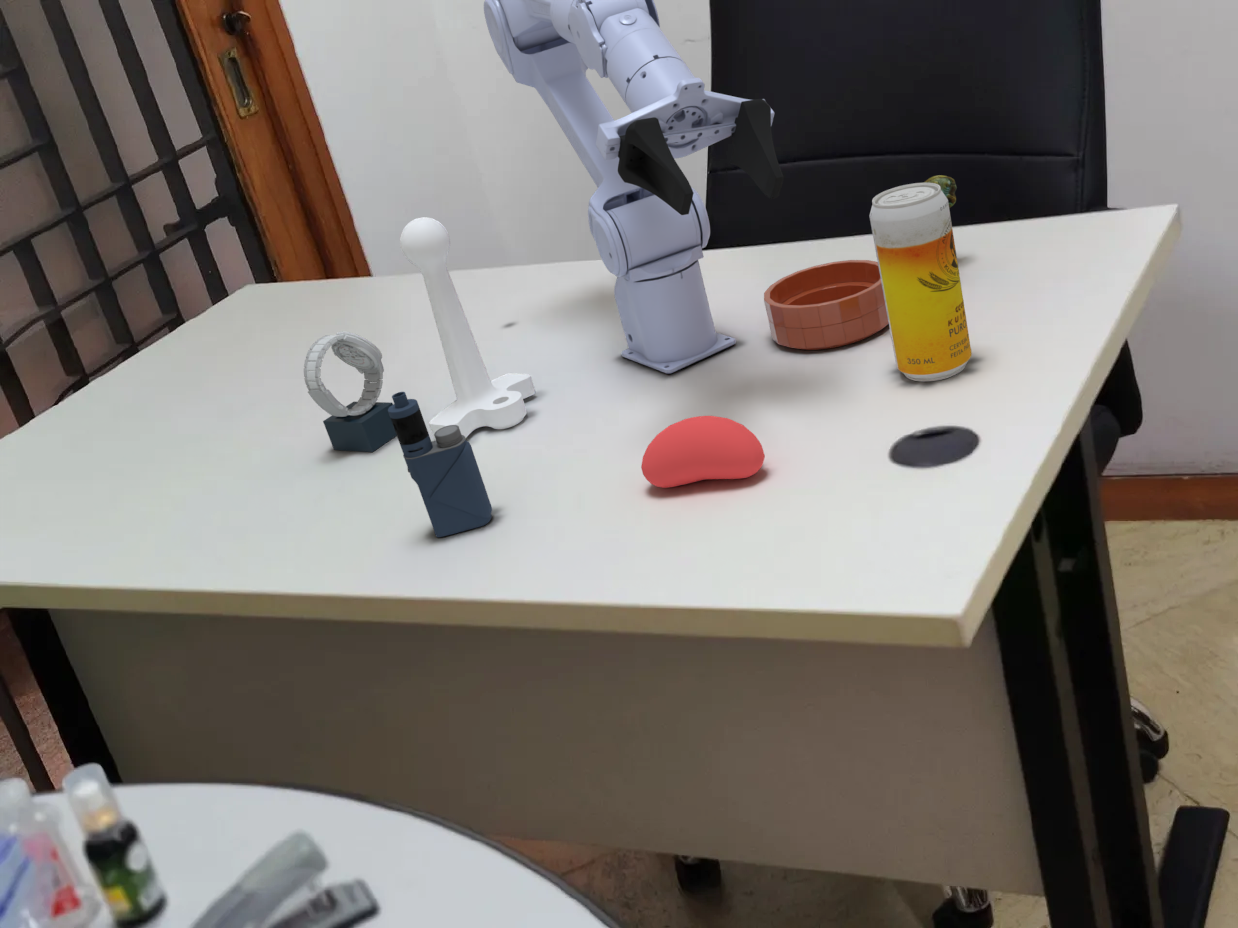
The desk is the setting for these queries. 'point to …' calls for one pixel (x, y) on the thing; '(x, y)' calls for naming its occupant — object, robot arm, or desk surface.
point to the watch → (359, 420)
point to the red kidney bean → (702, 452)
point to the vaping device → (441, 470)
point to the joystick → (461, 342)
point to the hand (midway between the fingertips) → (732, 196)
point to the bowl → (827, 305)
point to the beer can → (920, 281)
